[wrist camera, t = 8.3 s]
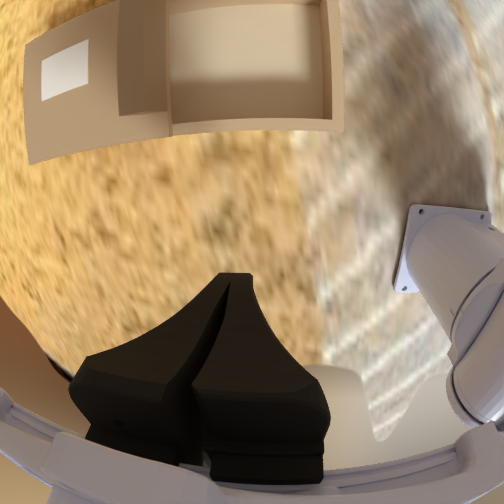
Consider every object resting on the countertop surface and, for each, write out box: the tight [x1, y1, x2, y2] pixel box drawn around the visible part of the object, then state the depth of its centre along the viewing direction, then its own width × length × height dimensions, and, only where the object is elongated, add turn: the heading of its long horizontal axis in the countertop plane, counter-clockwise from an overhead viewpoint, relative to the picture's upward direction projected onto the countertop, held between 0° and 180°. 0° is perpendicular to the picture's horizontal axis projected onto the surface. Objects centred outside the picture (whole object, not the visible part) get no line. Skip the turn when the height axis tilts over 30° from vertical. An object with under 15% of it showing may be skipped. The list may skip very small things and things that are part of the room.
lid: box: [23, 0, 173, 165], centre depth 12 cm, size 12×10×4 cm
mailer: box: [169, 0, 344, 136], centre depth 14 cm, size 12×10×4 cm
